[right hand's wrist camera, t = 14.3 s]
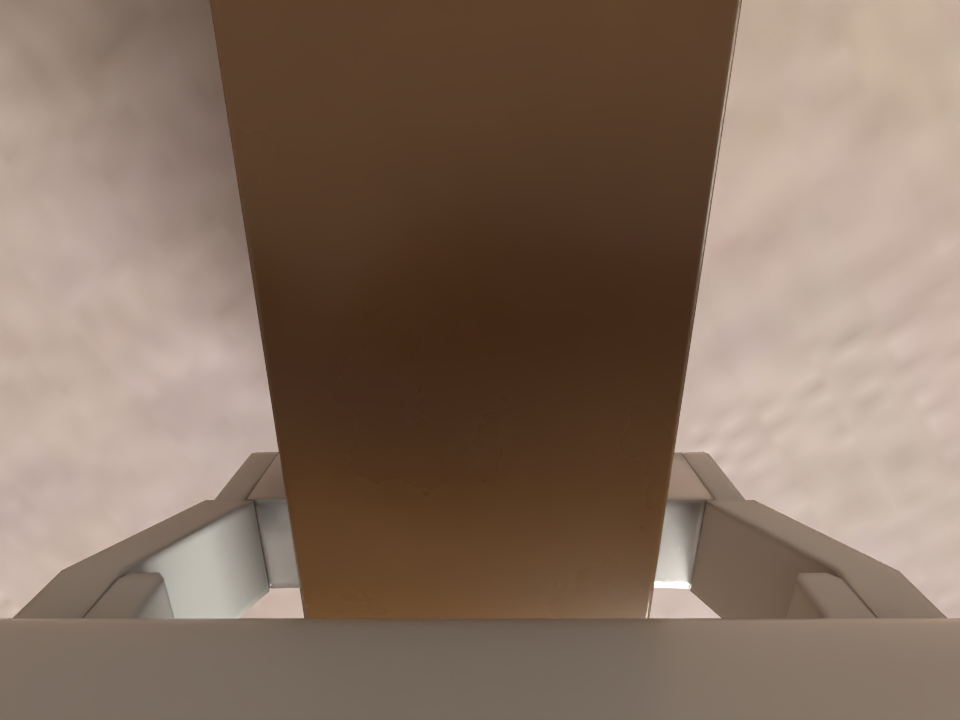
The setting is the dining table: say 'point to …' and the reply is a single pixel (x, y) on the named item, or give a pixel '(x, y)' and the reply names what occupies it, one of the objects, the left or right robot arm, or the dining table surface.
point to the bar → (476, 287)
